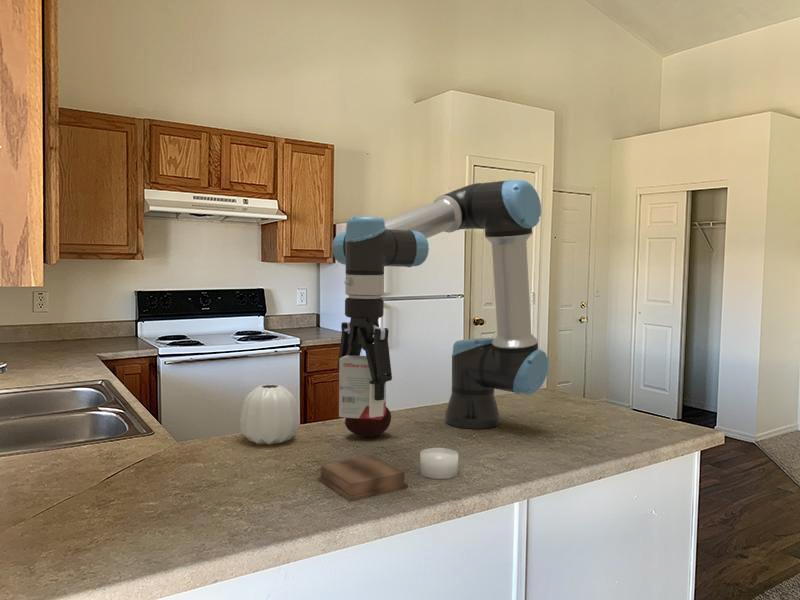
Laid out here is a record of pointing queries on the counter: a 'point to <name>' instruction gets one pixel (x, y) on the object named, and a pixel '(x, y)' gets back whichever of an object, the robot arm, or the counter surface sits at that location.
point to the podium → (362, 477)
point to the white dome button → (439, 463)
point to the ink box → (355, 388)
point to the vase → (269, 415)
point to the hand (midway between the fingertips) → (362, 410)
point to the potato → (368, 425)
